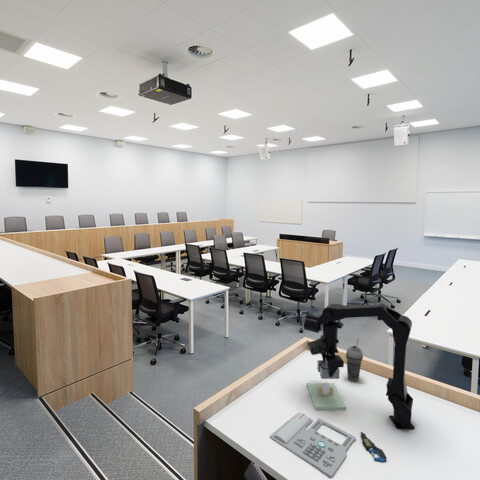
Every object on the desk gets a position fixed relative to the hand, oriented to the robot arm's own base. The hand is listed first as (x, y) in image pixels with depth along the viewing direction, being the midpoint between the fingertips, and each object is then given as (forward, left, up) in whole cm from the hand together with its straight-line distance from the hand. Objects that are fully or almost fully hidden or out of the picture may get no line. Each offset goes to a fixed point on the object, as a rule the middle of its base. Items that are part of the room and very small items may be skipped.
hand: (327, 371), depth 130 cm
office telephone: (-23, +11, -12) cm, 28 cm away
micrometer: (-27, -8, -12) cm, 30 cm away
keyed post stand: (0, +1, -11) cm, 11 cm away
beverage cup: (+13, -15, -12) cm, 23 cm away
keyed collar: (0, 0, -1) cm, 1 cm away
